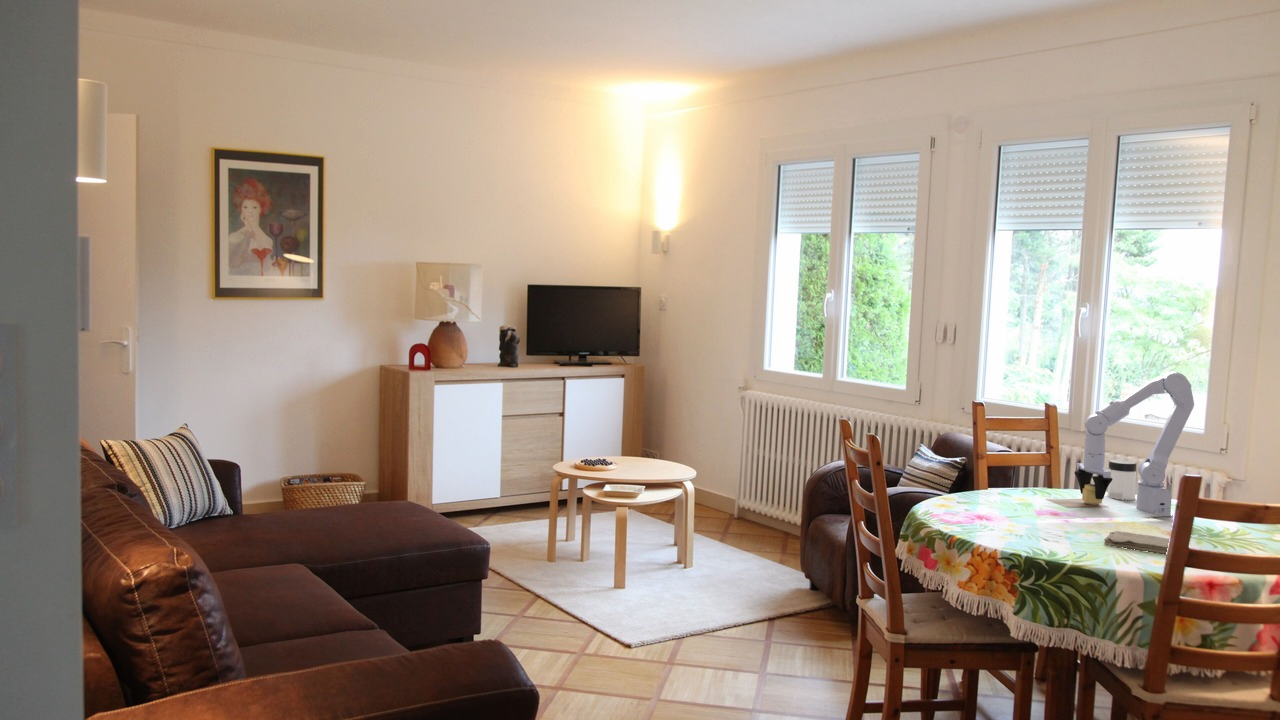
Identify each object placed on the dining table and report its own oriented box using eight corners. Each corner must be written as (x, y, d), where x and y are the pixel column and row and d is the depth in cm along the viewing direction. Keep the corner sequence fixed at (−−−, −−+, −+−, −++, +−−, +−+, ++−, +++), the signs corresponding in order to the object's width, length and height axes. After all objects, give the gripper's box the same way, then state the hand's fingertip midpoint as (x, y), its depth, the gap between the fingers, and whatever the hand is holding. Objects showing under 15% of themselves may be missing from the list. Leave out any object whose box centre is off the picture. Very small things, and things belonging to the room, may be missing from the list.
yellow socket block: (1097, 500, 301) (1098, 482, 300) (1101, 503, 296) (1102, 485, 296) (1082, 499, 301) (1083, 482, 301) (1086, 502, 297) (1086, 484, 297)
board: (1109, 510, 295) (1109, 507, 295) (1067, 511, 293) (1067, 507, 293) (1085, 502, 307) (1085, 498, 307) (1045, 503, 305) (1045, 499, 305)
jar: (1105, 494, 321) (1107, 458, 320) (1132, 496, 318) (1134, 460, 318) (1108, 499, 313) (1110, 462, 312) (1136, 501, 310) (1138, 464, 309)
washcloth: (1110, 538, 262) (1110, 527, 262) (1185, 549, 252) (1185, 538, 252) (1102, 547, 253) (1103, 536, 252) (1180, 559, 242) (1180, 547, 242)
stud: (1101, 505, 297) (1102, 493, 297) (1089, 505, 296) (1090, 493, 296) (1093, 502, 301) (1094, 490, 301) (1082, 502, 300) (1082, 490, 300)
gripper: (1068, 449, 304) (1066, 491, 305) (1097, 457, 290) (1094, 501, 291) (1089, 449, 305) (1086, 491, 306) (1118, 457, 291) (1115, 501, 292)
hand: (1091, 496), depth 299 cm, fingers open, 7 cm apart
